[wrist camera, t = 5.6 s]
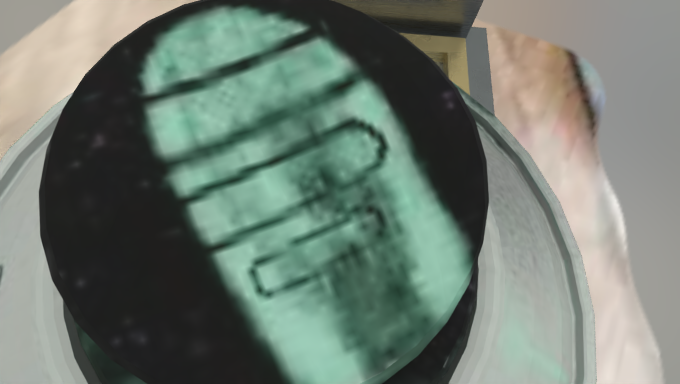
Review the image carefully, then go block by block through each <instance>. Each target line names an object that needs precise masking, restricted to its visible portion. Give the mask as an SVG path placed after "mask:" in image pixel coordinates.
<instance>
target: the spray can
mask: <svg viewBox="0 0 680 384" xmlns="http://www.w3.org/2000/svg"><path fill="white" fill-rule="evenodd" d="M596 381H597V374H596V344H595V315H594V310H593V306H592V301H591V297H590V292H589V287H588V283H587V278H586V274H585V269H584V264H583V260H582V255H581V253H580V250H579V248H578V246H577V243H576V241H575V238H574V236H573V233H572V231H571V229H570V226H569V224H568V221H567V219H566V217H565V214H564V212H563V209H562V207H561V204H560V202H559V200H558V199H557V197H556V196H555V194H554V192H553V191H552V189H551V188H550V186H549V184H548V183H547V181H546V180H545V178H544V177H543V175H542V173H541V172H540V170H539V169H538V167H537V165H536V164H535V162H534V161H533V159H532V158H531V156H530V154H529V153H528V152H527V151H526V150H525V149H524V148H523V147H522V145H521V144H520V143H519V142H518V141H517V140H516V139H515V138H514V137H513V135H512V134H511V133H510V132H509V131H508V130H507V129H506V128H505V127H504V125H503V124H502V123H501V122H500V121H499V120H498V119H497V118H496V117H495V115H494V114H492V113H491V112H490V111H489V110H487V109H486V108H485V107H484V106H482V105H481V104H480V103H479V102H477V101H476V100H475V99H474V98H472V97H471V96H470V95H469V94H467V93H466V92H465V91H464V90H462V89H461V88H460V87H459V86H457V85H456V84H455V83H454V82H452V81H451V80H450V79H449V78H448V77H447V76H446V74H445V73H444V72H443V71H442V70H441V69H440V67H439V66H438V65H437V64H436V63H435V62H434V61H433V60H432V59H431V58H430V57H429V56H428V55H426V54H425V53H424V52H423V51H421V50H420V49H419V48H418V47H417V46H415V45H414V44H413V43H412V42H410V41H409V40H408V39H407V38H406V37H404V36H403V35H401V34H399V33H398V32H396V31H394V30H393V29H391V28H389V27H387V26H386V25H384V24H382V23H381V22H379V21H377V20H376V19H374V18H372V17H370V16H368V15H367V14H365V13H363V12H361V11H358V10H356V9H353V8H351V7H348V6H346V5H343V4H341V3H338V2H336V1H332V0H199V1H196V2H192V3H188V4H184V5H182V6H180V7H178V8H175V9H173V10H171V11H169V12H167V13H164V14H162V15H160V16H158V17H156V18H154V19H151V20H149V21H147V22H146V23H144V24H143V25H142V26H140V27H139V28H137V29H136V30H134V31H133V32H132V33H130V34H129V35H127V36H126V37H125V38H123V39H122V40H120V41H119V42H117V43H116V44H115V45H114V46H113V47H112V48H111V49H110V50H109V51H108V52H107V53H106V54H105V55H104V56H103V57H102V58H101V59H100V60H99V61H98V62H97V63H96V64H95V65H94V66H93V67H92V68H91V69H90V70H89V71H88V72H87V73H86V74H85V76H84V77H83V79H82V80H81V82H80V83H79V85H78V86H77V88H76V89H75V91H74V92H73V93H72V94H70V95H69V96H67V97H66V98H64V99H63V100H61V101H60V102H58V103H57V104H56V105H54V106H53V107H52V108H51V109H50V110H49V111H48V112H47V113H46V114H45V115H44V116H43V117H42V118H40V119H39V120H38V121H37V122H36V123H35V124H34V125H33V126H32V127H31V128H30V129H29V130H28V131H27V132H26V133H25V134H24V135H23V136H22V137H21V138H20V139H19V140H18V141H17V142H16V143H15V144H14V145H13V146H11V147H10V148H9V150H8V151H7V152H6V154H5V155H4V157H3V158H2V159H1V161H0V384H596Z"/></svg>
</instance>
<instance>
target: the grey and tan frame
mask: <svg viewBox="0 0 680 384" xmlns="http://www.w3.org/2000/svg"><path fill="white" fill-rule="evenodd" d="M332 1H336V2H338V3H341V4H343V5H346V6H348V7H351V8H353V9H356V10H358V11H361V12H363V13H365V14H367V15H368V16H370V17H372V18H374V19H376V20H377V21H379V22H381V23H382V24H384V25H386V26H387V27H389V28H391V29H393V30H394V31H396V32H398V33H399V34H401V35H403V36H404V37H406V38H407V39H408V40H409V41H410V42H412V43H413V44H414V45H415V46H417V47H418V48H419V49H420V50H421V51H423V52H424V53H425V54H426V55H428V56H429V57H430V58H431V59H432V60H433V61H434V62H435V63H436V64H437V65H438V66H439V67H440V69H441V70H442V71H443V72H444V73H445V74H446V76H447V77H448V78H449V79H450V80H451V81H452V82H454V83H455V84H456V85H457V86H459V87H460V88H461V89H462V90H464V91H465V92H466V93H467V94H469V95H470V96H471V97H472V98H474V99H475V100H476V101H477V102H479V103H480V104H481V105H482V106H484V107H485V108H486V109H487V110H489V111H490V112H491V113H492V114H494V104H493V94H492V84H491V74H490V63H489V53H488V43H487V33H486V28H478V27H471V26H472V24H473V22H474V20H475V18H476V16H477V13H478V11H479V9H480V7H481V5H482V2H483V0H332ZM494 115H495V114H494Z"/></svg>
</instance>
